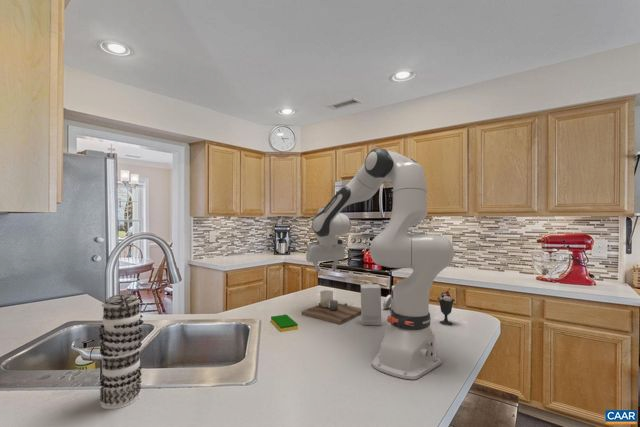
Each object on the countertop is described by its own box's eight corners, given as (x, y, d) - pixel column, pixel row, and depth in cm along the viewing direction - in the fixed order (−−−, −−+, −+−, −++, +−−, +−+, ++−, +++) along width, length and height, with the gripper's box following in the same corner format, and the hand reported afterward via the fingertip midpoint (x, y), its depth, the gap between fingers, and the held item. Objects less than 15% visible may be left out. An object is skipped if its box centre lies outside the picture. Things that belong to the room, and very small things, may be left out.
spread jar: (408, 315, 142) (408, 289, 142) (382, 314, 145) (382, 288, 145) (406, 308, 154) (406, 284, 154) (383, 306, 156) (383, 282, 156)
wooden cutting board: (340, 324, 130) (340, 318, 130) (301, 314, 143) (301, 309, 143) (365, 312, 147) (365, 306, 147) (328, 304, 160) (328, 299, 160)
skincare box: (380, 320, 135) (380, 284, 135) (381, 326, 129) (381, 287, 129) (360, 320, 136) (360, 283, 136) (360, 325, 130) (361, 287, 130)
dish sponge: (280, 333, 122) (280, 326, 122) (270, 322, 135) (270, 316, 135) (298, 330, 125) (298, 324, 125) (286, 319, 138) (286, 314, 138)
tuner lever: (341, 309, 145) (341, 294, 145) (330, 311, 142) (330, 296, 142) (328, 303, 155) (328, 289, 155) (318, 304, 152) (318, 291, 152)
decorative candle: (150, 388, 82) (150, 291, 82) (129, 409, 73) (130, 301, 73) (114, 388, 82) (114, 291, 82) (89, 410, 73) (90, 301, 73)
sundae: (452, 327, 128) (452, 289, 128) (435, 323, 132) (435, 287, 132) (456, 322, 133) (456, 286, 133) (440, 319, 137) (440, 284, 137)
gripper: (310, 242, 142) (310, 273, 142) (346, 240, 153) (346, 269, 153) (303, 241, 148) (303, 271, 148) (339, 239, 159) (339, 267, 159)
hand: (325, 270), depth 151 cm, fingers open, 8 cm apart
